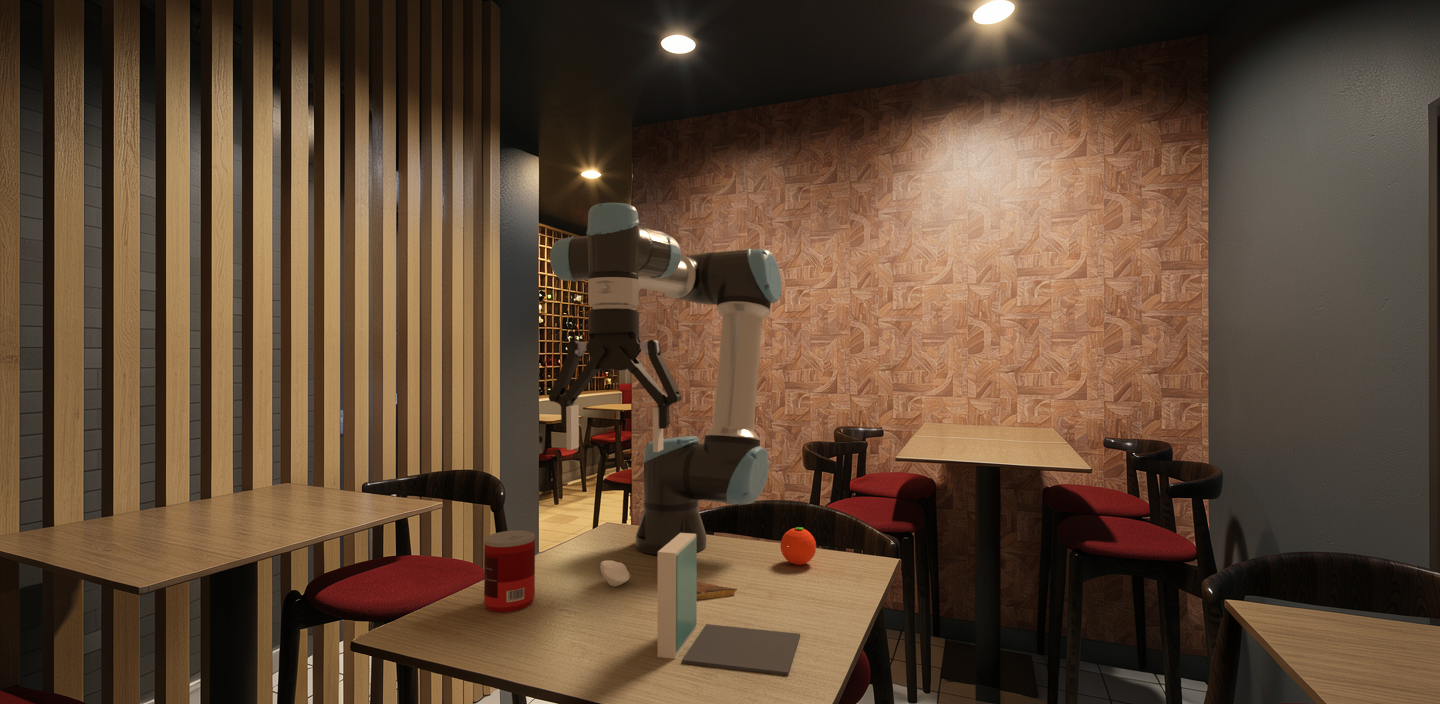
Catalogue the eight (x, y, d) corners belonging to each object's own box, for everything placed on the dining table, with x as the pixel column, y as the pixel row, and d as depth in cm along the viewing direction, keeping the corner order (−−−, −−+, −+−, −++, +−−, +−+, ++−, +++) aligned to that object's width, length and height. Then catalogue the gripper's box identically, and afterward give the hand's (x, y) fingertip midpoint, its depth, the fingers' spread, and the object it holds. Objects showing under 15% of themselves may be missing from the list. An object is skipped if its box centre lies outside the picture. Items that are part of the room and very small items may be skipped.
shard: (737, 597, 110) (737, 586, 110) (716, 612, 103) (716, 601, 104) (682, 587, 115) (682, 577, 115) (659, 601, 109) (659, 590, 109)
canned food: (543, 597, 109) (543, 531, 109) (516, 615, 101) (516, 544, 101) (503, 593, 111) (504, 528, 111) (473, 610, 103) (474, 541, 103)
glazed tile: (680, 627, 97) (680, 532, 97) (697, 628, 96) (697, 534, 96) (657, 656, 87) (657, 551, 87) (676, 659, 86) (676, 553, 87)
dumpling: (598, 579, 118) (598, 557, 118) (627, 577, 119) (627, 555, 119) (603, 593, 111) (603, 569, 111) (633, 589, 113) (633, 566, 113)
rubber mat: (706, 626, 97) (706, 624, 97) (800, 636, 93) (800, 633, 93) (682, 663, 85) (682, 659, 85) (788, 675, 82) (788, 672, 82)
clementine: (785, 555, 132) (785, 520, 132) (819, 559, 130) (819, 523, 130) (776, 567, 125) (776, 530, 125) (812, 571, 123) (812, 533, 123)
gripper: (525, 308, 97) (526, 451, 97) (687, 304, 91) (688, 455, 91) (548, 311, 104) (549, 444, 104) (700, 308, 99) (701, 447, 99)
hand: (615, 449), depth 98 cm, fingers open, 13 cm apart
